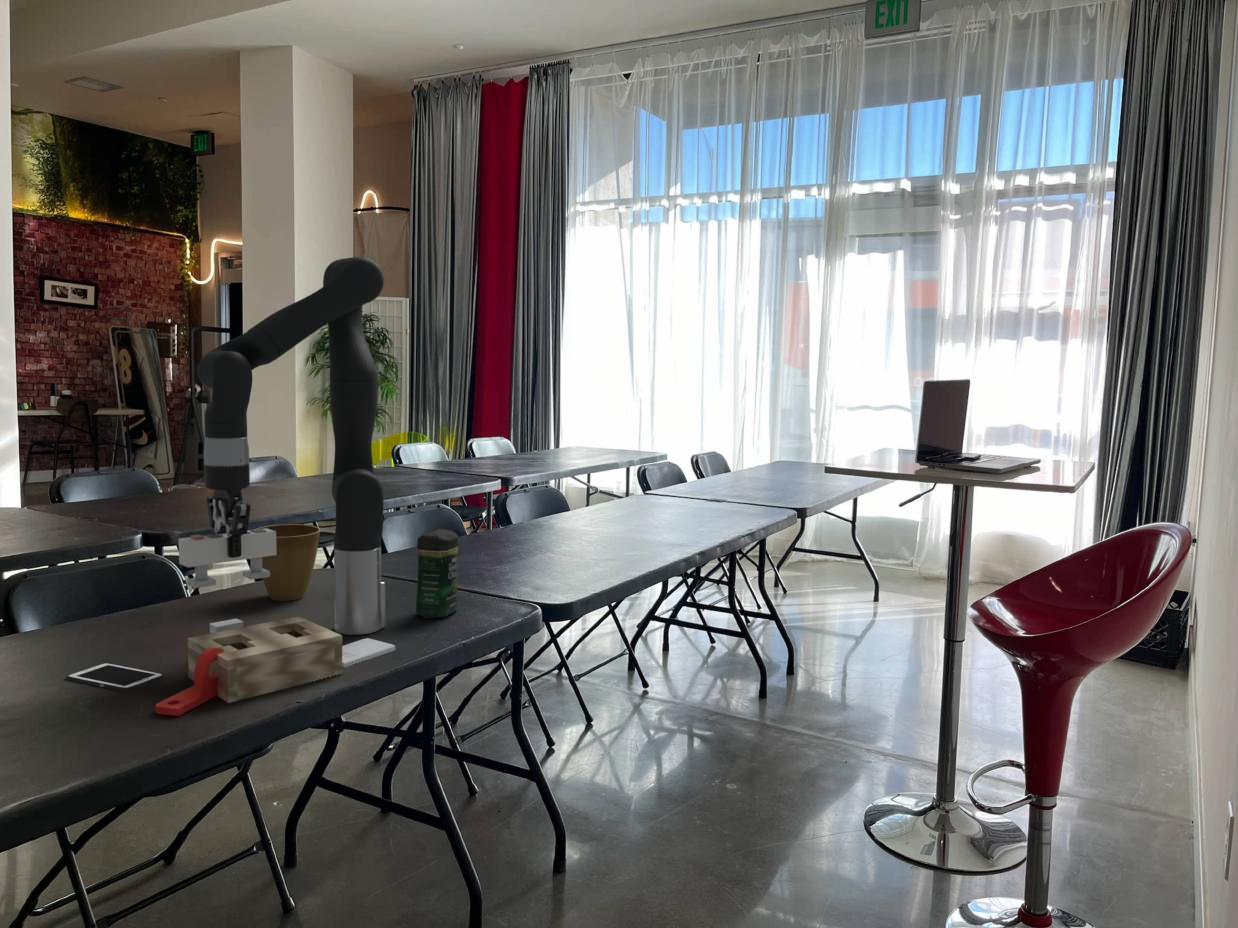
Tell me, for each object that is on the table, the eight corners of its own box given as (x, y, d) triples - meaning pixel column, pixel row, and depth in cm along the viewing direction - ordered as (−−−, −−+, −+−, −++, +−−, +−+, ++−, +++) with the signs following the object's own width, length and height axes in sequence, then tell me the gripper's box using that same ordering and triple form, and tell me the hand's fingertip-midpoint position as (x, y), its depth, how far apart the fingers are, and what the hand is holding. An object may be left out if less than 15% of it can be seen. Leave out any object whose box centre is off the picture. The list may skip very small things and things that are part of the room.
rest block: (237, 649, 167) (236, 618, 167) (244, 652, 165) (243, 621, 165) (210, 654, 164) (209, 623, 163) (217, 658, 162) (216, 626, 161)
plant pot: (240, 597, 204) (239, 529, 203) (300, 586, 216) (299, 521, 214) (273, 609, 195) (271, 538, 193) (333, 597, 206) (332, 530, 204)
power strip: (267, 572, 169) (266, 525, 168) (276, 575, 166) (276, 528, 165) (179, 585, 158) (178, 535, 157) (188, 589, 155) (187, 539, 154)
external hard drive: (395, 653, 169) (344, 670, 159) (365, 645, 174) (314, 661, 163) (395, 645, 169) (344, 661, 159) (365, 637, 173) (313, 653, 163)
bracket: (204, 686, 147) (203, 640, 147) (228, 689, 146) (227, 642, 146) (152, 712, 136) (150, 663, 135) (178, 716, 135) (176, 665, 134)
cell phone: (105, 667, 157) (104, 661, 157) (166, 679, 152) (166, 673, 152) (63, 681, 150) (63, 675, 150) (127, 694, 145) (126, 688, 144)
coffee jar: (444, 620, 190) (444, 535, 188) (410, 617, 191) (410, 533, 190) (463, 609, 199) (463, 528, 197) (431, 606, 201) (431, 525, 199)
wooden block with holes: (298, 652, 166) (298, 616, 166) (342, 673, 155) (342, 635, 155) (188, 677, 152) (187, 637, 151) (228, 702, 141) (227, 660, 140)
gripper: (264, 464, 157) (266, 558, 159) (231, 457, 167) (233, 546, 169) (222, 467, 152) (224, 564, 154) (190, 459, 162) (192, 551, 164)
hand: (229, 554), depth 161 cm, fingers closed on power strip, 4 cm apart
